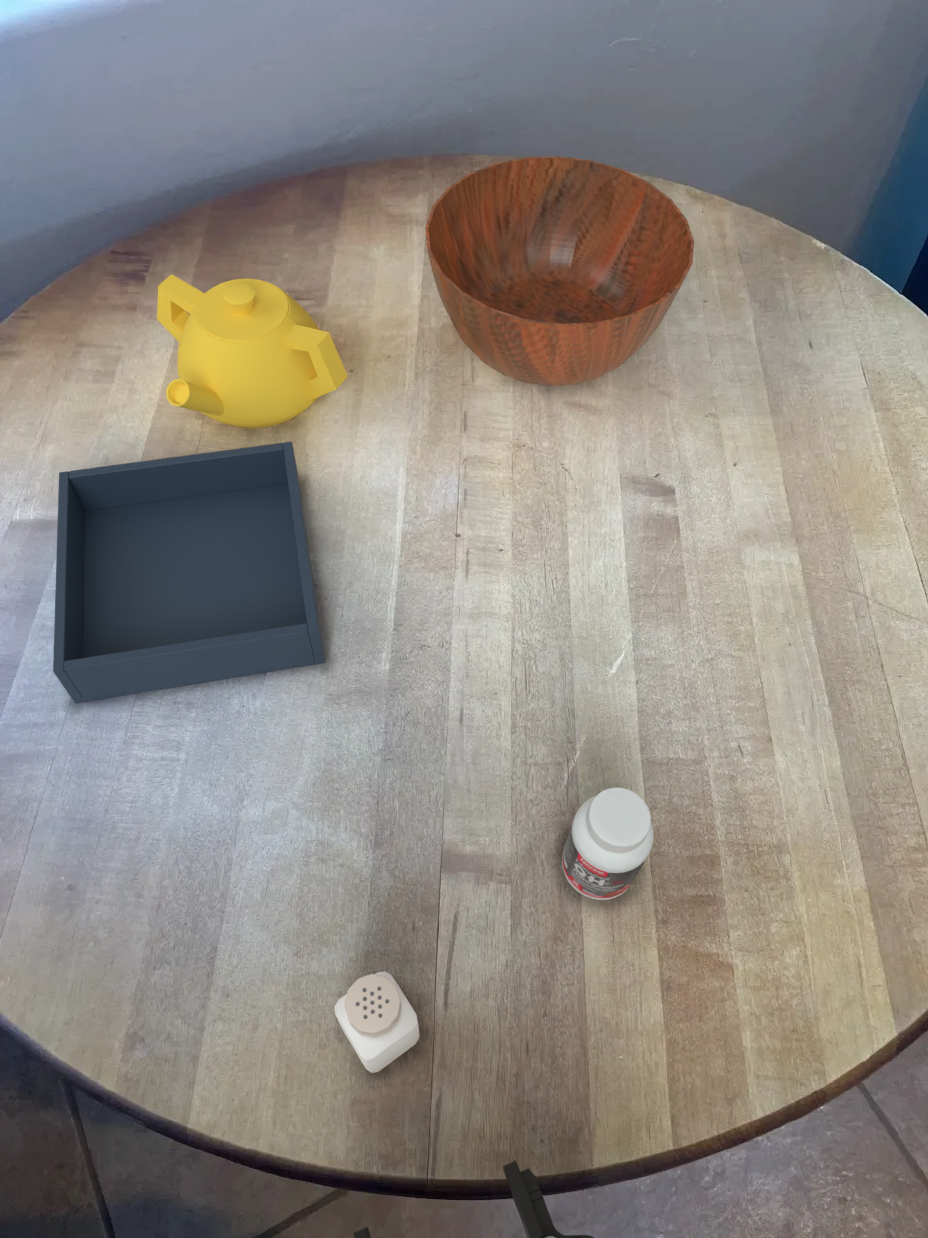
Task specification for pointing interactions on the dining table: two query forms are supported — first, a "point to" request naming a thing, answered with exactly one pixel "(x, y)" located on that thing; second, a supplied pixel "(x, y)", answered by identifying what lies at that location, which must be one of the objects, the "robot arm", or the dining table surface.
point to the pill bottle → (608, 843)
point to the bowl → (556, 265)
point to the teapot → (246, 352)
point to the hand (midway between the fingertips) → (435, 1196)
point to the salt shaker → (377, 1020)
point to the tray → (182, 573)
